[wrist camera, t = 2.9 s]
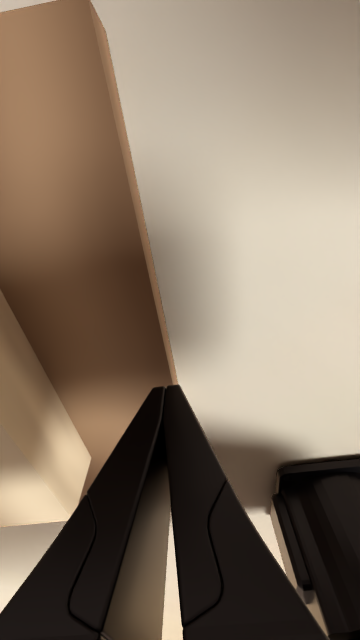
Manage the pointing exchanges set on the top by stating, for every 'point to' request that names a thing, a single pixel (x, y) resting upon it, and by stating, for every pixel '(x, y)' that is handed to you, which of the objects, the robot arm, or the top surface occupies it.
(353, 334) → the top surface
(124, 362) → the bench board
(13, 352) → the birch plate
